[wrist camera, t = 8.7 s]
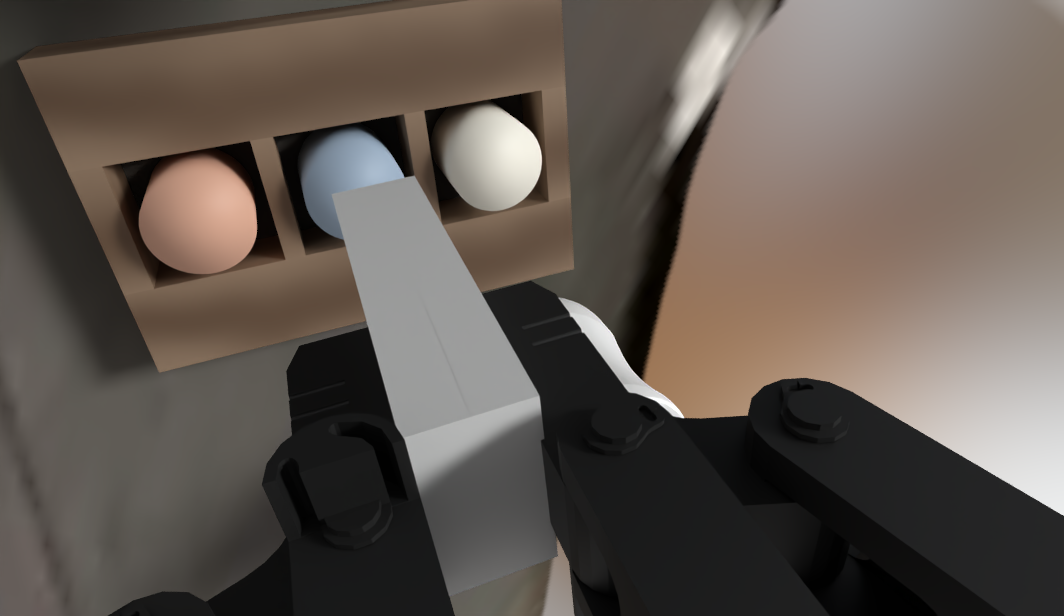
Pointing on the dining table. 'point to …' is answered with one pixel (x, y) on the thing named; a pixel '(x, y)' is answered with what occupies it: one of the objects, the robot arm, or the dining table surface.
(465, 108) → the cream rounded lump
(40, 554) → the dining table surface
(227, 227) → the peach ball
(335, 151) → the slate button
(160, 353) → the brown wooden tray
